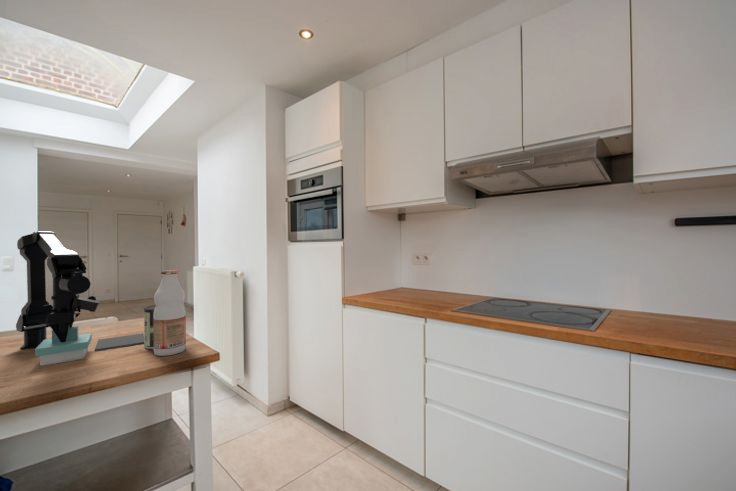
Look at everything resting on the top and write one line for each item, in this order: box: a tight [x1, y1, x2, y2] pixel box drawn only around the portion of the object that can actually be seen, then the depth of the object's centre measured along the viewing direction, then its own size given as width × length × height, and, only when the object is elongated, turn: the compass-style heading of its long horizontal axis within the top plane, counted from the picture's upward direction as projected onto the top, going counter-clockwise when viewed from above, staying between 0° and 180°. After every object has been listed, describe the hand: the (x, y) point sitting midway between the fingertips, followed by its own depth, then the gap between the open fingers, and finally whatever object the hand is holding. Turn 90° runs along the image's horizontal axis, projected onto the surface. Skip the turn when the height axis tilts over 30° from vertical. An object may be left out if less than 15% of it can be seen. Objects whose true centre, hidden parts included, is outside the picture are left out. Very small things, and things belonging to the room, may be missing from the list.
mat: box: [94, 332, 144, 352], centre depth 119 cm, size 14×14×1 cm
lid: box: [34, 325, 92, 357], centre depth 103 cm, size 12×12×6 cm
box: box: [39, 348, 89, 366], centre depth 103 cm, size 10×10×4 cm
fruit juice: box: [153, 269, 187, 357], centre depth 108 cm, size 9×9×28 cm
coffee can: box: [143, 304, 156, 350], centre depth 116 cm, size 10×10×14 cm
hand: (65, 339), depth 103 cm, fingers open, 7 cm apart
